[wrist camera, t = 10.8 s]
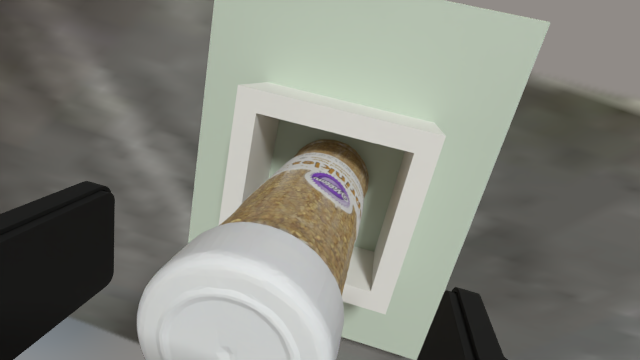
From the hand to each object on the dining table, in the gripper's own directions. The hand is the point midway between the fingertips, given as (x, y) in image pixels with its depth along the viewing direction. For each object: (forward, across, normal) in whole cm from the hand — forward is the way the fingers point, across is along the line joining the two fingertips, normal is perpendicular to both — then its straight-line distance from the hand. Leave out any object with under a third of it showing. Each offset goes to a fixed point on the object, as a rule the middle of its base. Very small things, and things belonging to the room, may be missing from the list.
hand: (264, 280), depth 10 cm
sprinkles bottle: (+11, 0, 0) cm, 11 cm away
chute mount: (+12, 0, +1) cm, 13 cm away
